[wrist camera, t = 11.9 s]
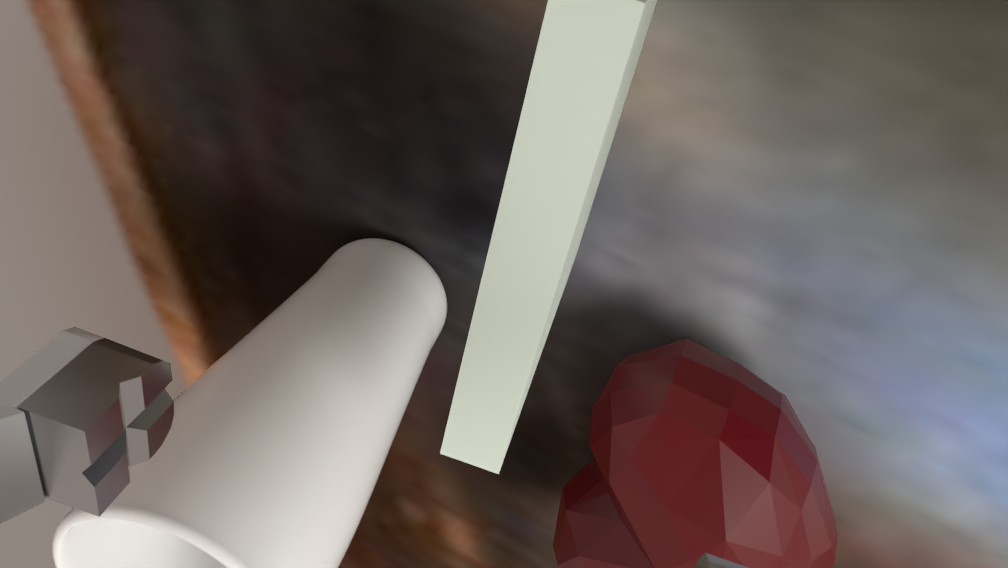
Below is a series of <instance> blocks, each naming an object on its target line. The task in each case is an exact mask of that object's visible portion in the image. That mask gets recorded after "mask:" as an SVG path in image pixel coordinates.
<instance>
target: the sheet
mask: <svg viewBox="0 0 1008 568" xmlns="http://www.w3.org/2000/svg"><path fill="white" fill-rule="evenodd" d="M656 3H657V0H548V3H547V7H546V11H545V15H544V19H543V24H542V28H541V32H540V36H539V40H538V44H537V49H536V53H535V57H534V61H533V65H532V70H531V74H530V78H529V82H528V86H527V91H526V95H525V99H524V103H523V107H522V112H521V116H520V120H519V124H518V128H517V133H516V137H515V141H514V145H513V149H512V154H511V158H510V162H509V166H508V170H507V175H506V179H505V183H504V187H503V191H502V195H501V200H500V204H499V208H498V212H497V216H496V221H495V225H494V229H493V233H492V237H491V242H490V246H489V250H488V254H487V258H486V263H485V267H484V271H483V275H482V279H481V284H480V288H479V292H478V296H477V300H476V305H475V309H474V313H473V317H472V321H471V326H470V330H469V334H468V338H467V342H466V347H465V351H464V355H463V359H462V363H461V367H460V372H459V376H458V380H457V384H456V388H455V393H454V397H453V401H452V405H451V409H450V414H449V418H448V422H447V426H446V430H445V435H444V439H443V443H442V447H441V451H440V454H443V455H446V456H448V457H451V458H454V459H457V460H460V461H463V462H465V463H468V464H471V465H474V466H477V467H480V468H482V469H485V470H488V471H491V472H494V473H496V474H499V472H500V469H501V466H502V464H503V461H504V458H505V455H506V452H507V449H508V447H509V444H510V441H511V438H512V435H513V432H514V430H515V427H516V424H517V421H518V418H519V415H520V413H521V410H522V407H523V404H524V401H525V399H526V396H527V393H528V390H529V387H530V384H531V382H532V379H533V376H534V373H535V370H536V367H537V365H538V362H539V359H540V356H541V353H542V350H543V348H544V345H545V342H546V339H547V336H548V333H549V331H550V328H551V325H552V322H553V319H554V317H555V314H556V311H557V308H558V305H559V302H560V300H561V297H562V294H563V291H564V288H565V285H566V283H567V280H568V277H569V274H570V271H571V268H572V266H573V263H574V260H575V257H576V254H577V251H578V247H579V244H580V241H581V238H582V235H583V232H584V229H585V226H586V222H587V219H588V216H589V213H590V210H591V207H592V204H593V200H594V197H595V194H596V191H597V188H598V185H599V182H600V179H601V175H602V172H603V169H604V166H605V163H606V160H607V157H608V154H609V150H610V147H611V144H612V141H613V138H614V135H615V132H616V129H617V125H618V122H619V119H620V116H621V113H622V110H623V107H624V104H625V100H626V97H627V94H628V91H629V88H630V85H631V82H632V79H633V75H634V72H635V69H636V66H637V63H638V60H639V57H640V53H641V50H642V47H643V44H644V41H645V38H646V35H647V32H648V28H649V25H650V22H651V19H652V16H653V13H654V10H655V7H656Z"/></svg>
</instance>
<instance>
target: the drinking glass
mask: <svg viewBox="0 0 1008 568" xmlns="http://www.w3.org/2000/svg"><path fill="white" fill-rule="evenodd" d="M446 315H447V299H446V294H445V290H444V287H443V285H442V282H441V280H440V278H439V277H438V275H437V273H436V272H435V270H434V269H433V268H432V267H431V265H430V264H429V263H428V262H427V261H426V260H425V259H424V258H423V257H421V256H420V255H419V254H418V253H416V252H415V251H413V250H412V249H410V248H408V247H406V246H404V245H402V244H400V243H397V242H394V241H390V240H386V239H379V238H366V239H360V240H356V241H353V242H350V243H348V244H346V245H344V246H342V247H341V248H339V249H338V250H337V251H336V252H335V253H333V254H332V255H331V256H330V258H329V259H328V260H327V261H326V262H325V263H324V264H323V265H322V267H321V268H320V269H319V270H318V271H317V272H316V273H315V274H314V275H313V276H312V277H311V278H310V279H309V280H308V281H306V282H305V283H304V284H303V285H302V286H301V287H300V288H299V289H298V290H297V291H295V292H294V293H293V294H292V295H291V296H290V297H289V298H288V299H287V300H285V301H284V302H283V303H282V304H281V305H280V306H279V307H278V308H276V309H275V310H274V311H273V312H272V313H271V314H270V315H269V316H267V317H266V318H265V319H264V320H263V321H262V322H261V323H260V324H258V325H257V326H256V327H255V328H254V329H253V330H252V331H250V332H249V333H248V334H247V335H246V336H245V337H244V338H243V339H241V340H240V341H239V342H238V343H237V344H236V345H235V346H233V347H232V348H231V349H230V350H229V351H228V352H227V353H225V354H224V355H223V356H222V357H221V358H220V359H218V360H217V361H216V362H215V363H214V364H213V365H212V366H211V367H209V368H208V369H207V370H206V371H205V372H204V373H203V374H201V375H200V376H199V377H198V378H197V379H196V380H195V381H193V382H192V383H191V384H190V385H189V386H188V387H187V388H186V389H184V390H183V391H182V392H181V393H180V394H179V395H178V396H177V397H176V398H174V399H173V401H174V417H173V422H172V426H171V429H170V431H169V433H168V435H167V436H166V438H165V440H164V442H163V444H162V446H161V447H160V448H159V449H158V451H157V452H156V453H155V454H154V455H153V456H152V458H151V459H150V460H148V461H145V462H143V463H140V464H138V465H135V466H133V467H130V483H129V484H128V485H127V486H126V487H125V489H124V490H123V491H122V492H121V493H120V494H119V495H118V496H117V498H116V499H115V500H114V501H113V502H112V503H111V504H110V505H109V507H108V508H107V509H106V510H105V511H104V512H103V513H102V515H101V516H100V517H99V516H96V515H93V514H90V513H87V512H84V511H81V510H79V509H76V508H72V510H71V511H70V512H69V513H68V514H67V515H66V516H65V517H64V518H63V520H62V521H61V522H60V523H59V525H58V526H57V529H56V530H55V533H54V536H53V540H52V555H53V559H54V564H55V566H56V568H338V567H339V565H340V563H341V561H342V559H343V557H344V555H345V553H346V551H347V549H348V547H349V545H350V543H351V541H352V539H353V537H354V534H355V532H356V530H357V528H358V525H359V523H360V521H361V519H362V516H363V514H364V511H365V509H366V507H367V504H368V502H369V499H370V497H371V495H372V492H373V490H374V487H375V485H376V482H377V480H378V477H379V475H380V472H381V470H382V467H383V465H384V462H385V460H386V457H387V455H388V452H389V450H390V447H391V445H392V442H393V440H394V437H395V435H396V432H397V430H398V428H399V425H400V423H401V420H402V418H403V415H404V413H405V410H406V408H407V405H408V403H409V401H410V398H411V396H412V393H413V391H414V388H415V386H416V384H417V381H418V379H419V376H420V374H421V372H422V369H423V367H424V364H425V362H426V360H427V357H428V355H429V353H430V351H431V349H432V347H433V345H434V344H435V342H436V340H437V338H438V336H439V334H440V332H441V330H442V328H443V326H444V323H445V320H446Z"/></svg>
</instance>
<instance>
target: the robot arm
mask: <svg viewBox="0 0 1008 568" xmlns="http://www.w3.org/2000/svg"><path fill="white" fill-rule="evenodd" d="M171 381H172V374H171V366H170V363H167V362H165V361H163V360H160V359H158V358H155V357H153V356H150V355H147V354H145V353H142V352H140V351H137V350H134V349H132V348H129V347H127V346H124V345H122V344H119V343H116V342H114V341H111V340H109V339H106V338H103V337H100V336H98V335H95V334H92V333H90V332H87V331H84V330H81V329H79V328H76V327H73V328H70V329H67V330H64V331H62V332H60V333H59V334H58V335H57V336H55V337H54V338H53V339H51V340H50V341H49V342H48V343H46V344H45V345H44V346H43V347H42V348H40V349H39V350H38V351H36V352H35V353H34V354H33V355H31V356H30V357H29V358H28V359H26V360H25V361H24V362H23V363H21V364H20V365H19V366H18V367H17V368H15V369H14V370H13V371H11V372H10V373H9V374H8V375H6V376H5V377H4V378H3V379H1V380H0V523H3V522H5V521H7V520H9V519H11V518H13V517H15V516H17V515H19V514H21V513H23V512H25V511H27V510H29V509H31V508H33V507H35V506H37V505H39V504H41V503H43V502H45V498H47V499H50V500H53V501H56V502H59V503H61V504H64V505H67V506H70V507H73V508H76V509H79V510H81V511H84V512H87V513H90V514H93V515H96V516H99V517H100V516H101V515H102V513H103V512H104V511H105V510H106V509H107V508H108V507H109V505H110V504H111V503H112V502H113V501H114V500H115V499H116V498H117V496H118V495H119V494H120V493H121V492H122V491H123V490H124V489H125V487H126V486H127V485H128V484H129V483H130V467H133V466H135V465H138V464H140V463H143V462H145V461H148V460H150V459H151V458H152V456H153V455H154V454H155V453H156V452H157V451H158V449H159V448H160V447H161V446H162V444H163V442H164V440H165V438H166V436H167V435H168V433H169V431H170V429H171V426H172V422H173V417H174V401H173V400H172V398H171V397H170V395H169V394H168V393H167V391H166V390H165V387H166V386H167V385H168V384H169V383H170V382H171ZM693 568H749V567H746V566H743V565H740V564H737V563H734V562H731V561H728V560H725V559H722V558H719V557H716V556H714V555H711V554H708V553H705V554H703V555H702V556H700V558H699V559H698V561H697V562H696V564H695V565H694V567H693Z"/></svg>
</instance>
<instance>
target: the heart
mask: <svg viewBox="0 0 1008 568" xmlns="http://www.w3.org/2000/svg"><path fill="white" fill-rule="evenodd" d="M590 449H591V451H592V453H593V456H594V458H595V461H593V462H590V463H588V464H587V465H586V466H585V467H584V468H583V469H582V470H581V471H580V472H579V473H578V474H577V475H576V476H575V477H573V478H572V479H571V480H570V481H569V482H568V483H567V484H566V485H565V486H564V487H563V488H562V494H561V501H560V507H559V513H558V519H557V525H556V531H555V537H554V543H553V546H554V551H555V555H556V559H557V563H558V566H559V568H693V567H694V565H695V564H696V562H697V561H698V559H699V558H700V556H702V555H703V554H705V553H708V554H711V555H714V556H716V557H719V558H722V559H725V560H728V561H731V562H734V563H737V564H740V565H743V566H746V567H749V568H831V567H833V566H834V561H835V552H836V543H837V528H836V523H835V518H834V514H833V510H832V507H831V503H830V500H829V496H828V492H827V489H826V485H825V481H824V478H823V474H822V470H821V467H820V463H819V460H818V456H817V452H816V449H815V446H814V445H813V443H812V442H811V440H810V439H809V437H808V435H807V433H806V431H805V430H804V428H803V426H802V424H801V422H800V421H799V419H798V417H797V415H796V413H795V412H794V410H793V408H792V406H791V404H790V403H789V401H788V399H787V397H786V396H785V395H784V394H782V393H781V392H779V391H778V390H776V389H775V388H773V387H772V386H770V385H769V384H767V383H766V382H764V381H763V380H761V379H760V378H758V377H757V376H755V375H754V374H753V373H751V372H750V371H748V370H747V369H746V368H744V367H743V366H741V365H740V364H738V363H736V362H734V361H732V360H730V359H728V358H726V357H724V356H722V355H720V354H717V353H715V352H713V351H711V350H709V349H707V348H705V347H703V346H701V345H699V344H697V343H695V342H693V341H691V340H689V339H684V340H680V341H677V342H673V343H670V344H666V345H663V346H659V347H656V348H652V349H649V350H646V351H642V352H639V353H635V354H632V355H628V356H626V357H625V358H624V359H623V360H622V361H621V362H620V363H619V364H618V365H617V366H616V368H615V370H614V371H613V373H612V375H611V376H610V378H609V380H608V382H607V383H606V385H605V387H604V388H603V390H602V392H601V393H600V395H599V397H598V398H597V400H596V402H595V403H594V405H593V407H592V408H591V424H590Z"/></svg>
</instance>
